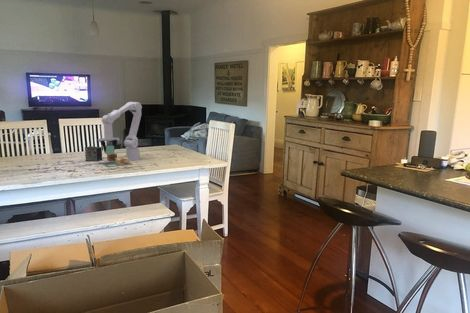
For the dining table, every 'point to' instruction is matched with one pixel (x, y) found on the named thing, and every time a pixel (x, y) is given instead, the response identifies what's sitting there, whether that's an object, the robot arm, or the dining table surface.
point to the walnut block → (111, 157)
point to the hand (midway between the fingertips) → (109, 150)
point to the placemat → (115, 164)
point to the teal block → (109, 149)
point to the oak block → (121, 161)
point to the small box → (93, 153)
